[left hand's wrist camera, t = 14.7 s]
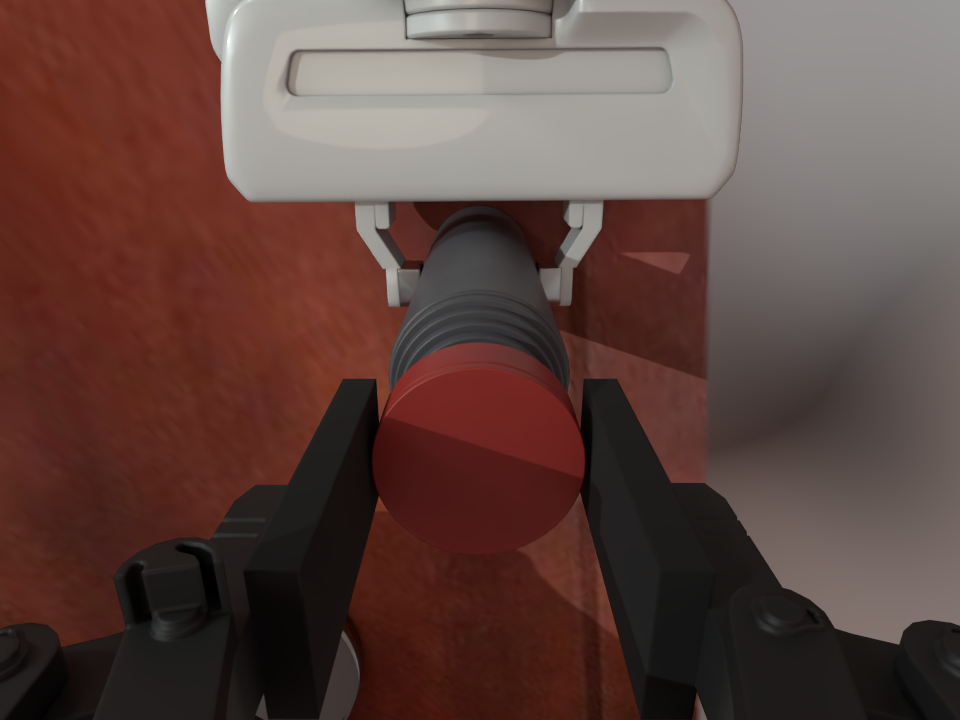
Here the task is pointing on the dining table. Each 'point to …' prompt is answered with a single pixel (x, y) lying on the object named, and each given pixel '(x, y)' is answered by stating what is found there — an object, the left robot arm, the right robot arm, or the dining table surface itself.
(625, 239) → the dining table surface
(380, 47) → the right robot arm
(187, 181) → the dining table surface
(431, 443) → the cap
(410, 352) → the bottle
